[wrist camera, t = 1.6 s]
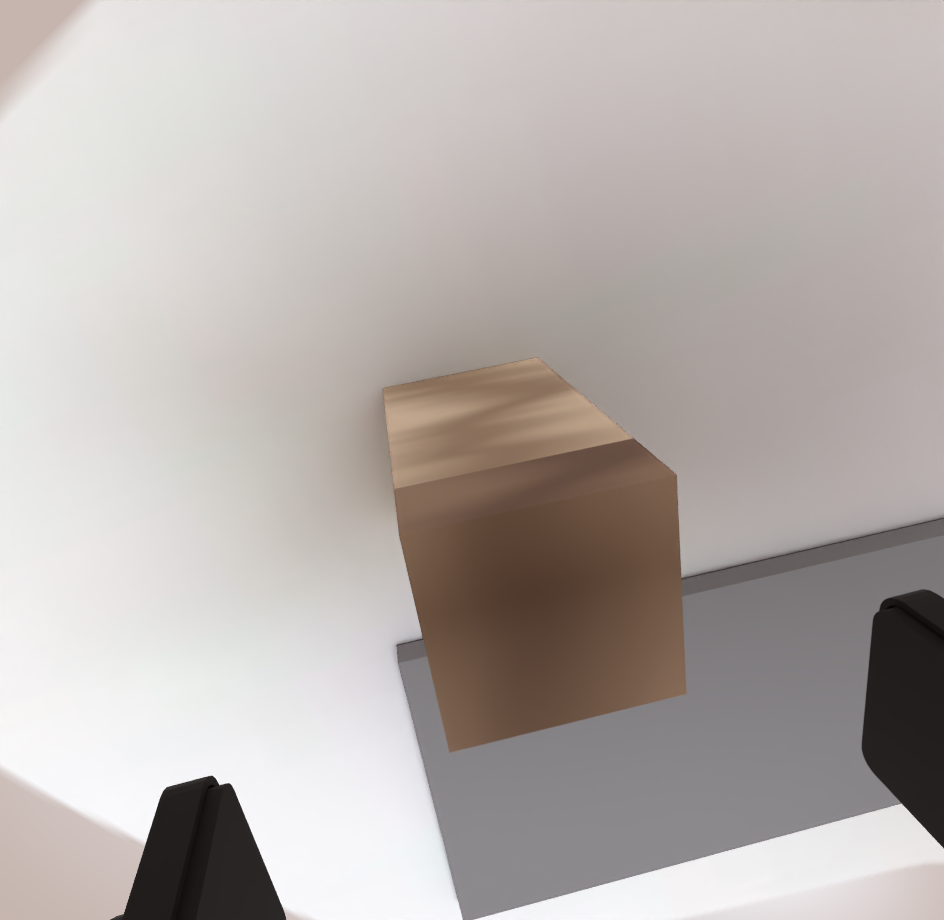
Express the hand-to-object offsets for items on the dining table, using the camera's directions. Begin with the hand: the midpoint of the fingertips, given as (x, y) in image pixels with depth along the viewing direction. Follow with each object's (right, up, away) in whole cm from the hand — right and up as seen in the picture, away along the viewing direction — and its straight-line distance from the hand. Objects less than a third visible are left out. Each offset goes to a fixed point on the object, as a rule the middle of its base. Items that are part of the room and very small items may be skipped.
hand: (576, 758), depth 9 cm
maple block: (-1, +5, +12) cm, 13 cm away
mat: (+8, -7, +18) cm, 21 cm away
